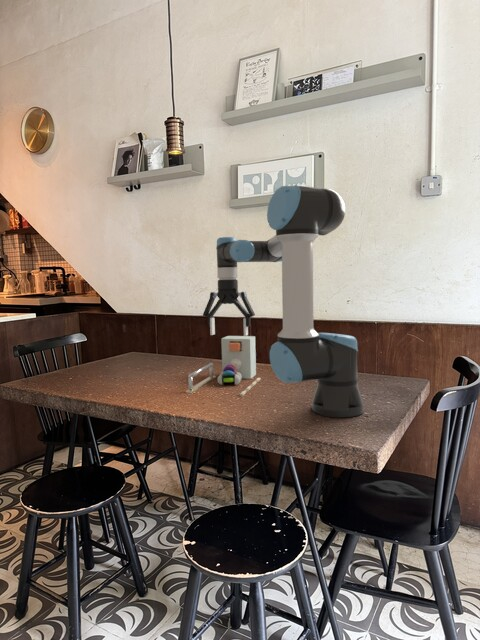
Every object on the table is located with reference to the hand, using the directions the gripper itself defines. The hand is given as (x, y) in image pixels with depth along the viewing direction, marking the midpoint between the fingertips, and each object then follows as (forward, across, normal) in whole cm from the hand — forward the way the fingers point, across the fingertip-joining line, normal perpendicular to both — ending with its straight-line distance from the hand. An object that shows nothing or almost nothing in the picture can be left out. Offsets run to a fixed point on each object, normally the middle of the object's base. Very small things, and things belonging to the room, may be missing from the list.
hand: (229, 335), depth 168 cm
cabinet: (+18, +1, -12) cm, 22 cm away
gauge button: (+7, 0, -7) cm, 10 cm away
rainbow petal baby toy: (+19, 0, 0) cm, 19 cm away
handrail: (+19, +10, +5) cm, 22 cm away
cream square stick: (+19, -10, +4) cm, 21 cm away
